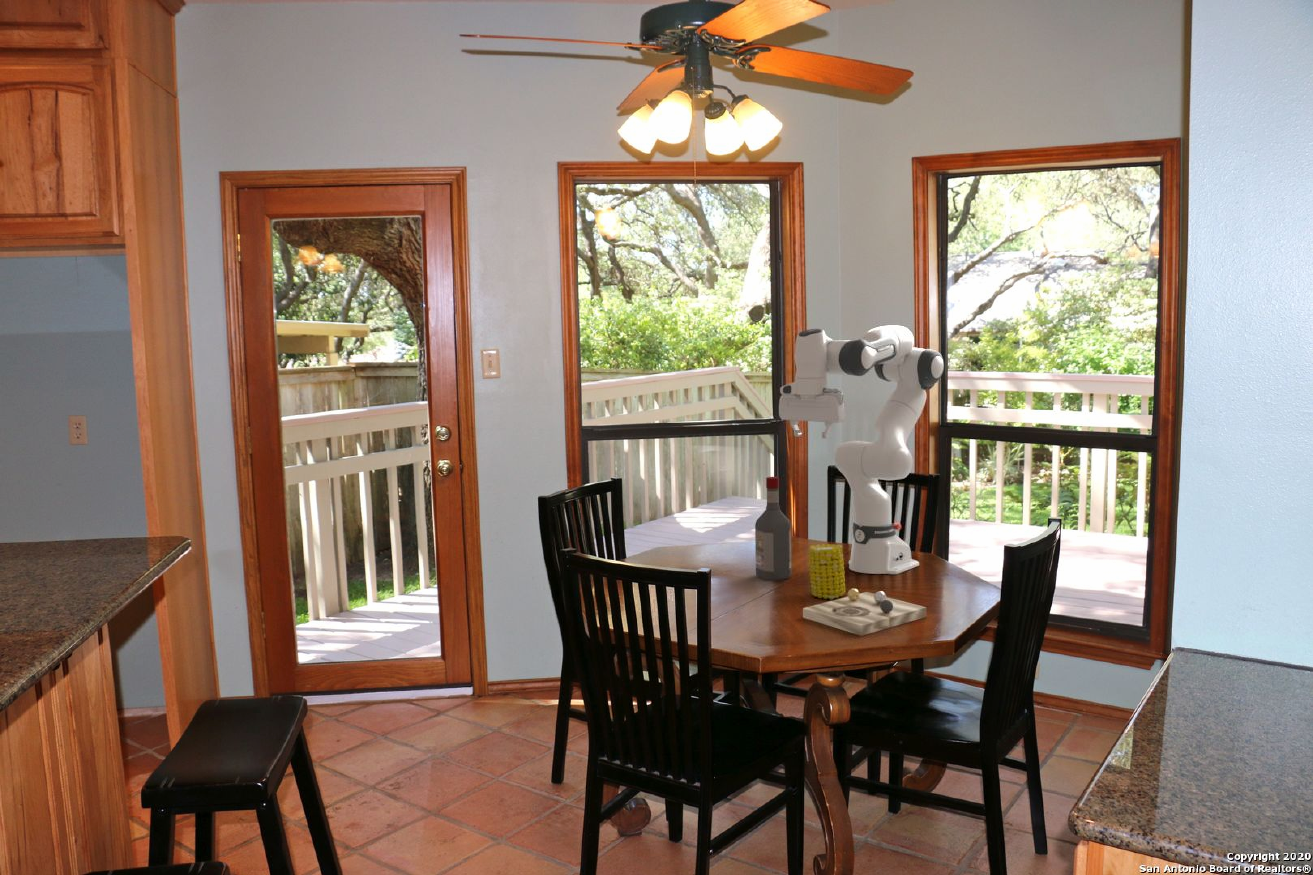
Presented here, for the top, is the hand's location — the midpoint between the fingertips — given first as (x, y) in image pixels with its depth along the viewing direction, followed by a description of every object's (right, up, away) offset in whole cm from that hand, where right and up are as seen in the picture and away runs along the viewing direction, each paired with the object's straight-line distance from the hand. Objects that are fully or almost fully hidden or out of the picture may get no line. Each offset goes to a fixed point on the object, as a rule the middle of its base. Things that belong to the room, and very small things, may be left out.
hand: (811, 437), depth 283 cm
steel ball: (+15, -42, -21) cm, 49 cm away
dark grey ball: (+14, -43, -29) cm, 53 cm away
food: (+4, -44, -2) cm, 44 cm away
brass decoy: (+8, -41, -17) cm, 45 cm away
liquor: (-8, -42, +20) cm, 47 cm away
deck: (+10, -46, -24) cm, 53 cm away
